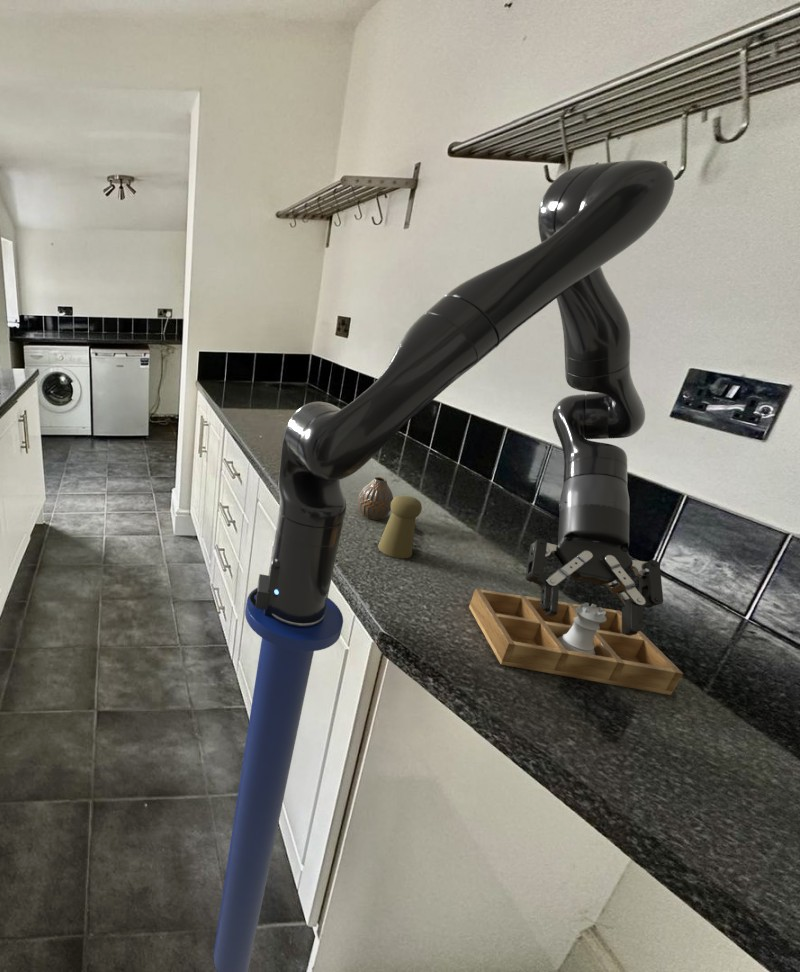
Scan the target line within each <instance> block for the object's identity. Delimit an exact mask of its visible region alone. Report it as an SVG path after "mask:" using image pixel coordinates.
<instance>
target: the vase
mask: <svg viewBox="0 0 800 972" xmlns="http://www.w3.org/2000/svg"><path fill="white" fill-rule="evenodd" d="M393 499H394V496H393V492H392V489H391V488H390V486H389V485H388V482H387V479H386V478H384V477H381V476H376V477H373V479H372V480H371V481H370V482H369V483H367V484H366V485H365V486H363V488H362V489H361V491H360V492H359V494H358V498H357V509H358V510H359V512H360V514H361V515H362V516H363V517H364V518H366V519H369V520H375V521H378V520H382V519H384V518H385V517H387V516H388V515H389V513H390V512H391V502H392V500H393Z"/></svg>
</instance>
